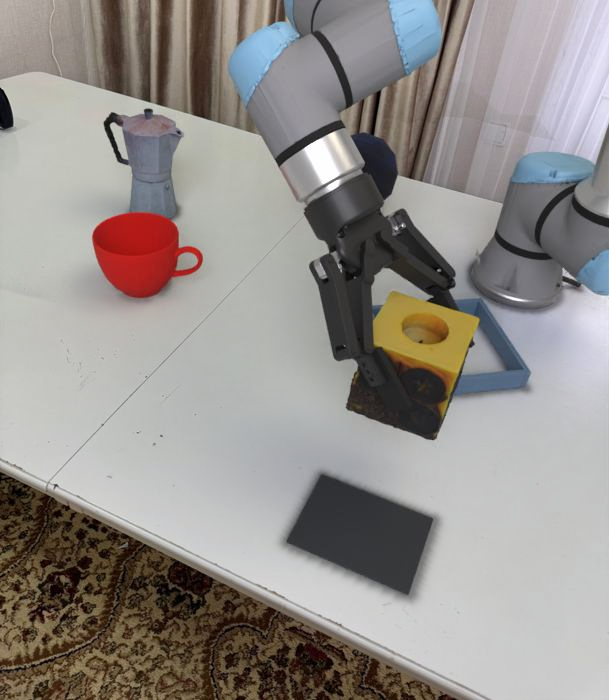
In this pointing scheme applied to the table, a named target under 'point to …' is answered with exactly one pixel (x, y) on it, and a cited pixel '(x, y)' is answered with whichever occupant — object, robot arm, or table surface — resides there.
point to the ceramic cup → (140, 252)
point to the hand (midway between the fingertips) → (434, 376)
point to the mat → (362, 533)
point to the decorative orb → (377, 161)
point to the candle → (416, 362)
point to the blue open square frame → (502, 344)
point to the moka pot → (148, 159)
